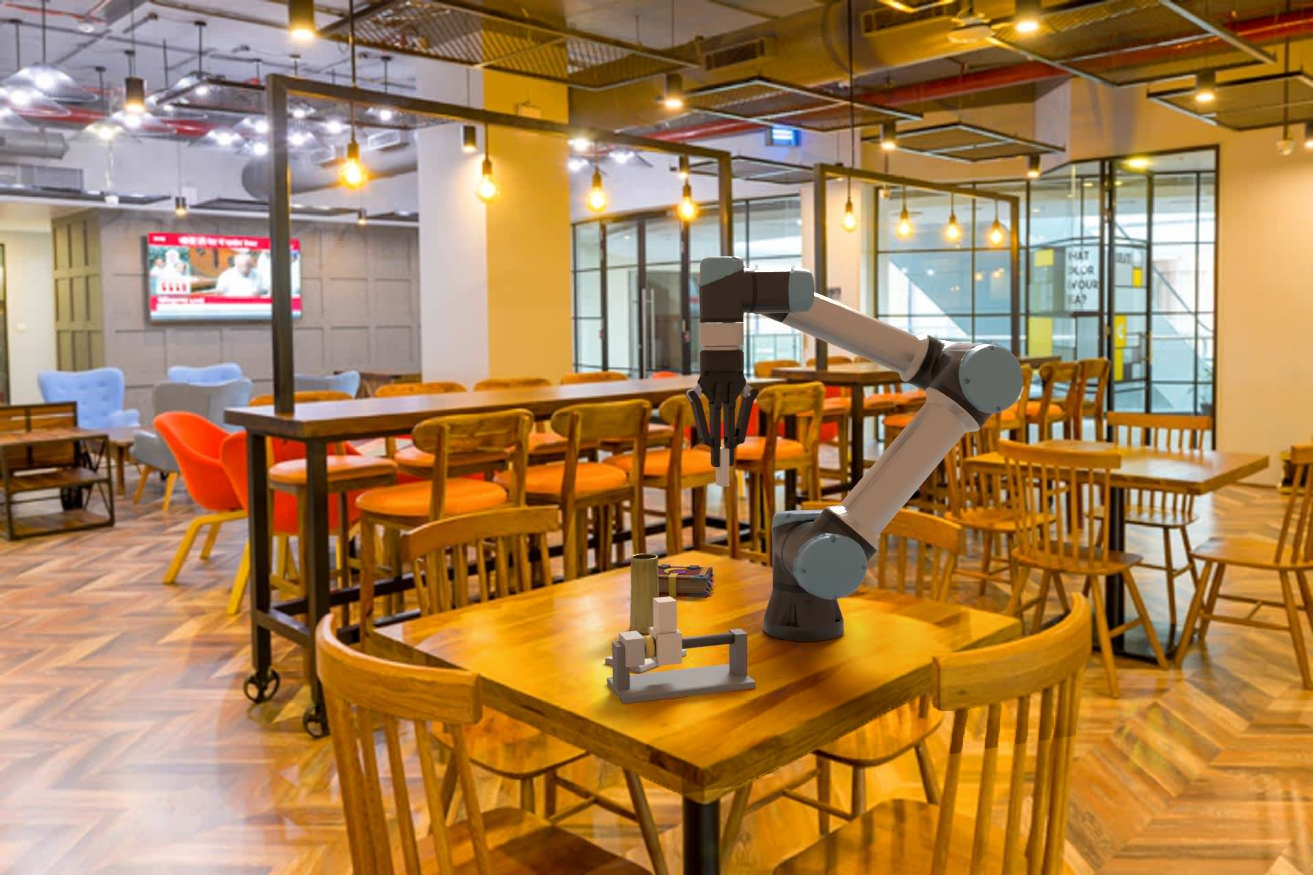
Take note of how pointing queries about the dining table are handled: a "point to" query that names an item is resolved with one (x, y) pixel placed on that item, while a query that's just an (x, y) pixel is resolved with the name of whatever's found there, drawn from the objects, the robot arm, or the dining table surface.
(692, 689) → the cord rail
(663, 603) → the stacked pale cubes
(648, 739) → the dining table surface
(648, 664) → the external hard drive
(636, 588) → the vase
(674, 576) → the decorative book
